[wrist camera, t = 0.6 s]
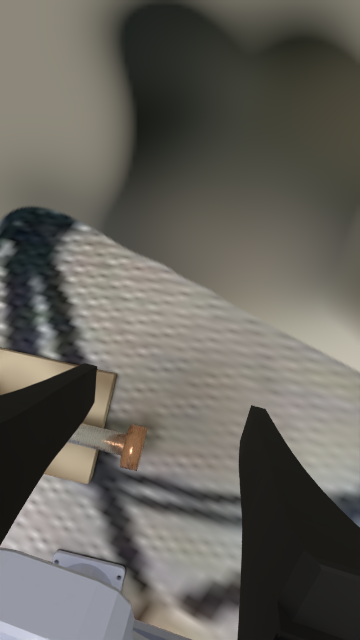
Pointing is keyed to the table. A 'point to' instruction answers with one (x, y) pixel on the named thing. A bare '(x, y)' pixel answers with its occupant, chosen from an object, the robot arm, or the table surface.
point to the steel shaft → (113, 442)
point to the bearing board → (73, 460)
